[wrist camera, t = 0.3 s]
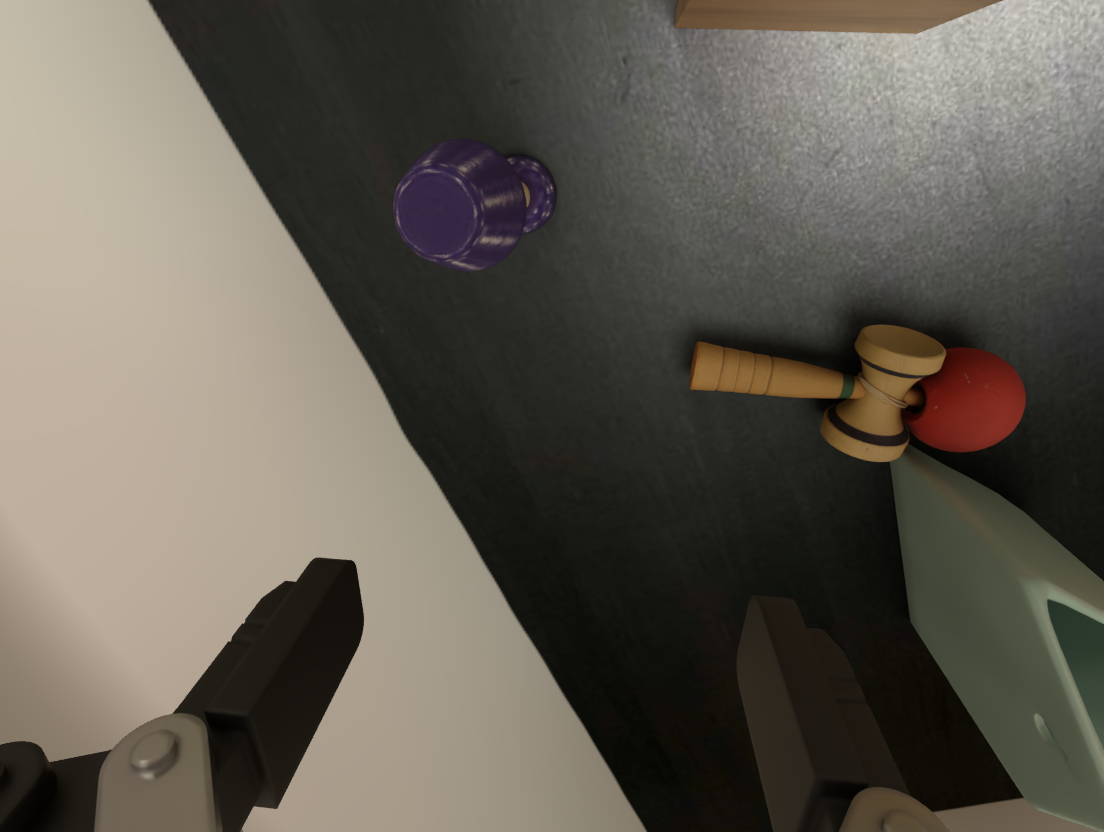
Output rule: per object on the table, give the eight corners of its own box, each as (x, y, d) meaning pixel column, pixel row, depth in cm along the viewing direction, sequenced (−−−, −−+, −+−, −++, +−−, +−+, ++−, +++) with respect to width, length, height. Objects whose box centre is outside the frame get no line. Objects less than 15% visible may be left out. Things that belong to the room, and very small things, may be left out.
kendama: (681, 416, 39) (969, 458, 36) (681, 440, 33) (1027, 494, 30) (700, 302, 38) (1007, 336, 34) (704, 306, 32) (1076, 348, 28)
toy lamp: (465, 211, 34) (351, 257, 19) (492, 130, 32) (388, 109, 17) (540, 244, 34) (487, 315, 19) (571, 166, 32) (538, 177, 17)
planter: (1026, 603, 42) (1337, 939, 24) (909, 623, 44) (1119, 951, 26) (1020, 407, 36) (1430, 660, 18) (885, 439, 38) (1137, 699, 20)
